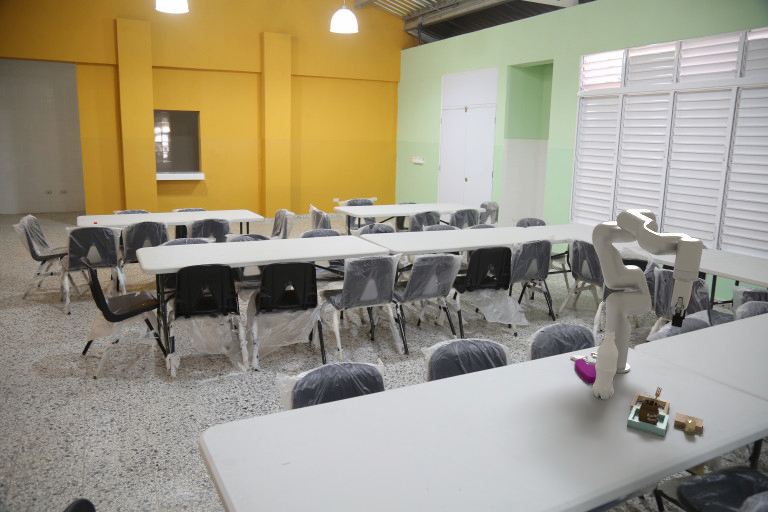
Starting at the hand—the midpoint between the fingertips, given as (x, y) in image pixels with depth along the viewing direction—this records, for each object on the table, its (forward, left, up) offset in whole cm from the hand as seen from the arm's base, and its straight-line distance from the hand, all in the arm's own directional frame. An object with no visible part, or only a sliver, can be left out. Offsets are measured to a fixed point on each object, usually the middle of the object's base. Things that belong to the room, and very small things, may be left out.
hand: (678, 322), depth 198 cm
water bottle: (-20, -8, -31) cm, 37 cm away
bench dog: (+9, -18, -30) cm, 36 cm away
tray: (-3, -20, -30) cm, 36 cm away
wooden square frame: (-4, -8, -30) cm, 32 cm away
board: (+8, -13, -31) cm, 34 cm away
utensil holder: (-3, -20, -30) cm, 36 cm away
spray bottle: (-30, +12, -31) cm, 45 cm away
